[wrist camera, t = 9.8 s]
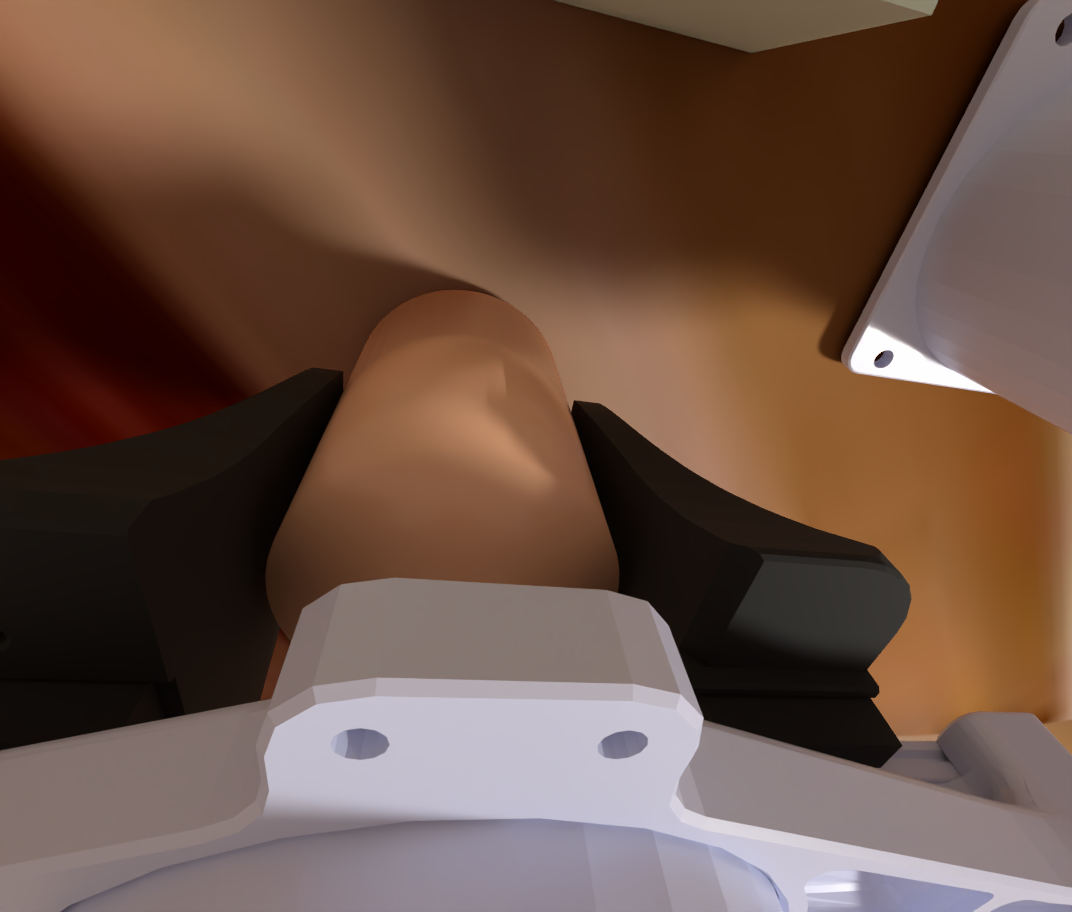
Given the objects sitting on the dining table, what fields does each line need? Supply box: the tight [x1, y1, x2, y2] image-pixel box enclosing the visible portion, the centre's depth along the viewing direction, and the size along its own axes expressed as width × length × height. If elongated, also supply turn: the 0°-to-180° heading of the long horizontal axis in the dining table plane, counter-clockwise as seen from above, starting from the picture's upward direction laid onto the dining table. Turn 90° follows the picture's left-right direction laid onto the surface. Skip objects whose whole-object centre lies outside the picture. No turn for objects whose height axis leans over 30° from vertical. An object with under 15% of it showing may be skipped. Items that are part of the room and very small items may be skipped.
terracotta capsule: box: [265, 290, 619, 642], centre depth 11 cm, size 5×5×7 cm
